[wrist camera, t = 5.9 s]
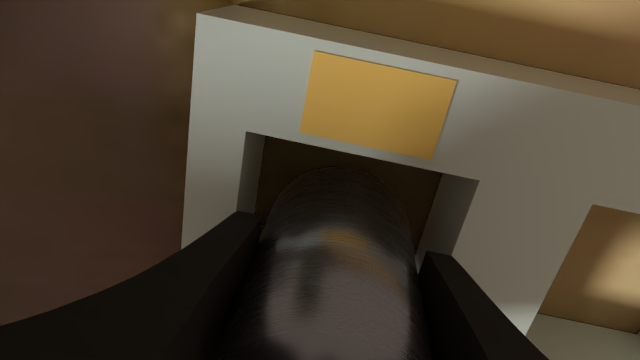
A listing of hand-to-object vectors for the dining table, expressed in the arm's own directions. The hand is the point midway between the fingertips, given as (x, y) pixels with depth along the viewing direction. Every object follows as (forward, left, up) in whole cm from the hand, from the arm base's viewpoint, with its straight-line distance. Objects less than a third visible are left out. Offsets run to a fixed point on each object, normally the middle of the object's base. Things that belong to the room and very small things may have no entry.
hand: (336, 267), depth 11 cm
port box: (0, -4, -4) cm, 5 cm away
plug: (0, 0, -2) cm, 2 cm away
